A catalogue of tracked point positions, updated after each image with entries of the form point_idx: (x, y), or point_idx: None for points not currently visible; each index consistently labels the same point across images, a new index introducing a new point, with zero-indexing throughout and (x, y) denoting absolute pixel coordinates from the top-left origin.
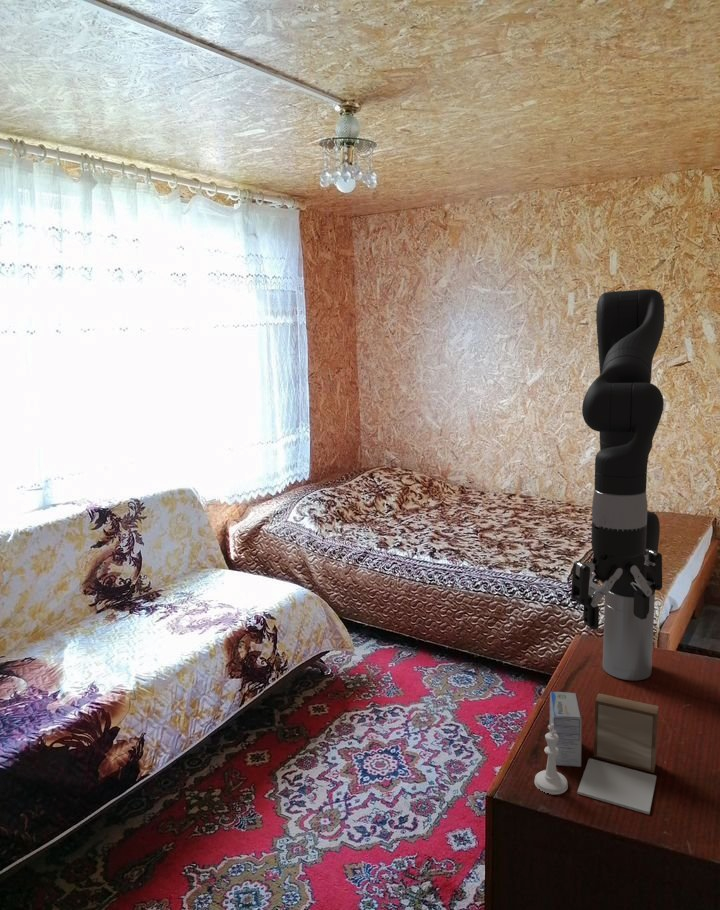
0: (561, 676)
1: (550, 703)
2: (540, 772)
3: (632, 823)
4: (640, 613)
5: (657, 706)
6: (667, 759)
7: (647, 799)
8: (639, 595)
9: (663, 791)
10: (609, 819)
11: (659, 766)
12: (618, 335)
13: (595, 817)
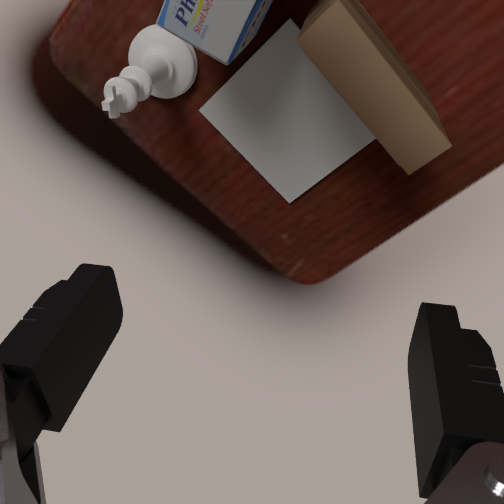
0: None
1: None
2: (145, 37)
3: (249, 204)
4: (413, 368)
5: (448, 145)
6: (466, 85)
7: (310, 178)
8: (430, 468)
9: (362, 165)
10: (218, 183)
11: None
12: None
13: (198, 171)
